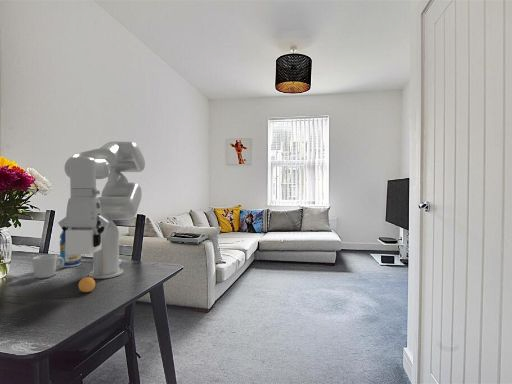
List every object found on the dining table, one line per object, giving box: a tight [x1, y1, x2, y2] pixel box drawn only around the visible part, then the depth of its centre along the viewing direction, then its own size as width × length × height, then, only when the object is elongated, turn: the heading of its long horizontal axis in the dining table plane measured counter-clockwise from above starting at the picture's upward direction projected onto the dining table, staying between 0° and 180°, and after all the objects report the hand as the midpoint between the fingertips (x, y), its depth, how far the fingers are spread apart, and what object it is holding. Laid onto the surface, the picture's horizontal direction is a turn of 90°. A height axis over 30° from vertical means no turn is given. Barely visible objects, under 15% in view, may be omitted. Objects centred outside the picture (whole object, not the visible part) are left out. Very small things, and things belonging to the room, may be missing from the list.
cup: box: [31, 254, 64, 279], centre depth 122 cm, size 11×8×8 cm
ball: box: [77, 276, 96, 293], centre depth 104 cm, size 5×5×5 cm
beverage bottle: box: [58, 224, 82, 268], centre depth 138 cm, size 8×8×20 cm
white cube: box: [65, 228, 102, 256], centre depth 103 cm, size 8×8×8 cm
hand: (84, 245), depth 103 cm, fingers closed on white cube, 7 cm apart
